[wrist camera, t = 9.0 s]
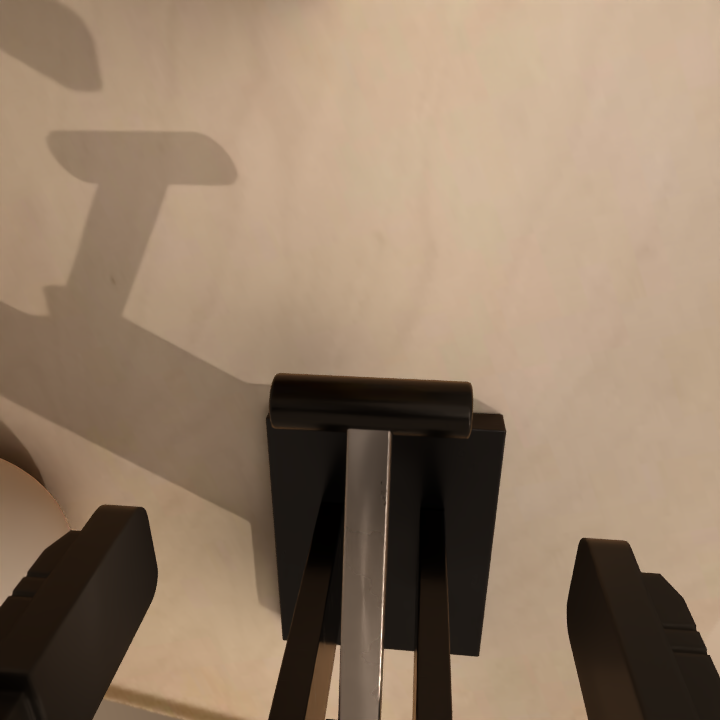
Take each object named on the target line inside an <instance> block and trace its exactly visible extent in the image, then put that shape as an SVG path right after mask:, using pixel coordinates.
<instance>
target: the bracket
mask: <svg viewBox="0 0 720 720" xmlns="http://www.w3.org/2000/svg"><path fill="white" fill-rule="evenodd" d="M266 425H267V438H268V452H269V465H270V478H271V491H272V504H273V518H274V531H275V544H276V557H277V570H278V584H279V597H280V610H281V623H282V636H283V640H287V644H286V648H285V652H284V656H283V660H282V664H281V669H280V673H279V677H278V681H277V685H276V689H275V693H274V698H273V702H272V706H271V710H270V714H269V718H268V720H325V714H326V708H327V702H328V695H329V689H330V682H331V676H332V670H333V663H334V657H335V651H336V645H341V615H342V583H343V551H344V519H345V487H346V454H347V433H341V432H323V431H305V430H286V429H275V428H273V427H272V425H271V421H270V415H269V413H268V415H267V418H266ZM505 436H506V429H505V424H504V419H503V415H496V414H477V413H473V417H472V428H471V434H470V436H469V438H468V439H452V438H434V437H415V436H397V435H392V455H391V480H390V505H389V530H388V555H387V580H386V606H385V631H384V649H394V650H406V651H414V676H413V716H412V720H452V694H451V665H450V654H453V655H465V656H477V657H478V656H479V652H480V644H481V635H482V627H483V619H484V610H485V602H486V594H487V586H488V577H489V569H490V561H491V552H492V544H493V536H494V527H495V519H496V511H497V503H498V494H499V486H500V478H501V469H502V461H503V453H504V445H505Z"/></svg>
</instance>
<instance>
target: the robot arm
mask: <svg viewBox="0 0 720 720" xmlns="http://www.w3.org/2000/svg"><path fill="white" fill-rule="evenodd" d="M157 578H158V568H157V562H156V557H155V551H154V546H153V541H152V536H151V531H150V526H149V520H148V516H147V512H146V510H145V509H144V508H143V507H135V506H120V505H101V506H100V507H99V508H98V509H97V510H96V511H95V512H94V514H93V515H92V516H91V518H90V519H89V521H88V522H87V523H86V525H85V526H84V527H83V529H82V530H81V531H72V530H70V531H69V532H67V533H66V534H65V535H63V536H62V537H61V538H59V539H58V540H57V541H55V542H54V543H53V544H51V545H50V546H48V547H47V548H46V549H44V551H43V552H42V553H41V555H40V556H39V557H38V559H37V560H36V561H35V562H34V564H33V565H32V566H31V568H30V569H29V570H28V572H27V576H26V577H23V578H22V579H21V581H20V582H19V583H18V584H17V586H16V587H15V588H14V590H13V593H12V596H8V597H7V599H6V600H5V601H4V603H3V604H2V605H1V607H0V720H92V719H93V717H94V715H95V713H96V711H97V709H98V707H99V705H100V703H101V701H102V699H103V697H104V695H105V693H106V691H107V689H108V687H109V685H110V683H111V681H112V679H113V677H114V675H115V674H116V672H117V670H118V668H119V666H120V664H121V662H122V660H123V658H124V656H125V654H126V652H127V650H128V648H129V646H130V644H131V642H132V640H133V638H134V636H135V634H136V632H137V630H138V628H139V626H140V624H141V622H142V620H143V618H144V616H145V614H146V612H147V610H148V608H149V606H150V604H151V602H152V600H153V597H154V594H155V590H156V586H157ZM567 627H568V635H569V640H570V644H571V648H572V652H573V657H574V661H575V665H576V669H577V674H578V678H579V682H580V686H581V691H582V695H583V699H584V703H585V708H586V712H587V716H588V720H720V677H719V674H718V672H717V670H716V668H715V666H714V664H713V662H712V659H711V657H710V655H707V649H706V646H705V644H704V642H703V640H702V637H701V635H700V633H699V632H697V631H696V624H695V622H694V620H693V618H692V616H691V614H690V611H689V609H688V607H687V605H686V603H685V600H684V598H683V597H682V596H681V595H680V594H679V593H678V592H677V591H676V590H675V589H674V588H673V587H672V586H671V585H670V584H669V583H668V582H667V581H666V580H665V578H664V577H663V576H662V575H661V574H656V573H642V572H641V571H640V569H639V566H638V564H637V561H636V559H635V556H634V554H633V551H632V549H631V547H630V545H629V543H628V542H627V541H623V540H608V539H593V538H582V539H581V540H580V542H579V545H578V550H577V555H576V560H575V565H574V570H573V575H572V580H571V585H570V590H569V595H568V601H567Z"/></svg>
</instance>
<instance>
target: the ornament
mask: <svg viewBox="0 0 720 720" xmlns="http://www.w3.org/2000/svg"><path fill="white" fill-rule="evenodd" d="M69 531H70V528H69V525H68V522H67V520H66V518H65V515H64V513H63V512H62V510H61V508H60V506H59V505H58V503H57V502H56V500H55V499H54V498H53V496H52V495H51V494H50V493H49V492H48V491H47V490H46V489H45V487H44V486H42V485H41V484H40V483H39V482H38V481H37V480H36V479H35V478H33V477H32V476H31V475H29V474H28V473H27V472H25V471H24V470H22V469H20V468H19V467H17V466H15V465H14V464H12V463H10V462H8V461H6V460H3V459H1V458H0V607H1V605H2V604H3V603H4V601H5V600H6V599H7V597H8V596H12V593H13V590H14V588H15V587H16V586H17V584H18V583H19V582H20V581H21V579H22V578H23V577H26V576H27V572H28V570H29V569H30V568H31V566H32V565H33V564H34V562H35V561H36V560H37V559H38V557H39V556H40V555H41V553H42V552H43V551H44V549H46V548H47V547H48V546H50V545H51V544H53V543H54V542H55V541H57V540H58V539H59V538H61V537H62V536H63V535H65V534H66V533H67V532H69Z"/></svg>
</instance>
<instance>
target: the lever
mask: <svg viewBox="0 0 720 720" xmlns="http://www.w3.org/2000/svg"><path fill="white" fill-rule="evenodd" d="M269 415H270V421H271V425H272V427H273V428H275V429H286V430H305V431H323V432H341V433H347V454H346V487H345V519H344V551H343V583H342V615H341V648H340V680H339V712H338V720H381V706H382V681H383V656H384V631H385V606H386V580H387V555H388V530H389V505H390V480H391V455H392V435H397V436H415V437H434V438H452V439H468V438H469V436H470V434H471V428H472V417H473V389H472V385H471V383H469V382H462V381H441V380H419V379H397V378H376V377H354V376H332V375H311V374H289V373H279V374H276V375H275V377H274V379H273V381H272V385H271V390H270V397H269ZM326 720H333V719H326Z"/></svg>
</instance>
